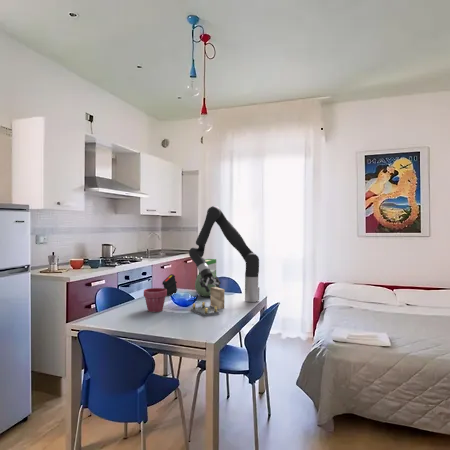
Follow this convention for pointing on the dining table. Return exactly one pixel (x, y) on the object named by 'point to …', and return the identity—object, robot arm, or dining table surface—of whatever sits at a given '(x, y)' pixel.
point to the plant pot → (155, 299)
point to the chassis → (204, 310)
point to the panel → (217, 297)
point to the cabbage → (198, 287)
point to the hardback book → (211, 264)
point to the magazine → (170, 285)
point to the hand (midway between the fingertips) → (214, 291)
